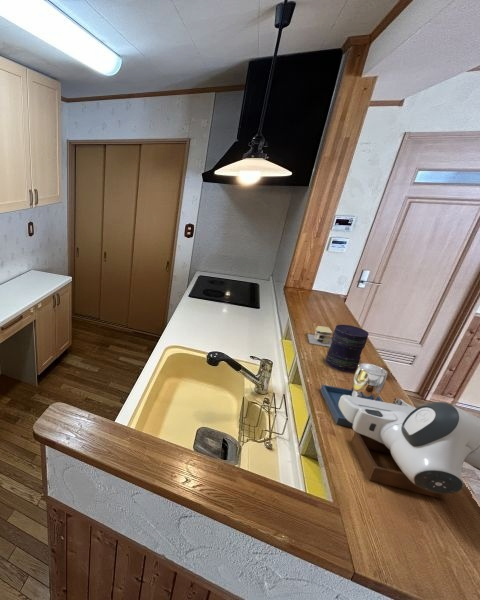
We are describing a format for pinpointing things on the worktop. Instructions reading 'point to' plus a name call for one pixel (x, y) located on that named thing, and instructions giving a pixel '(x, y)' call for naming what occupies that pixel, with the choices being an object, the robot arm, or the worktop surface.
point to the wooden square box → (379, 473)
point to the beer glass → (369, 380)
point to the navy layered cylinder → (346, 348)
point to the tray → (337, 402)
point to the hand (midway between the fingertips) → (376, 396)
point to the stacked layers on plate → (321, 336)
